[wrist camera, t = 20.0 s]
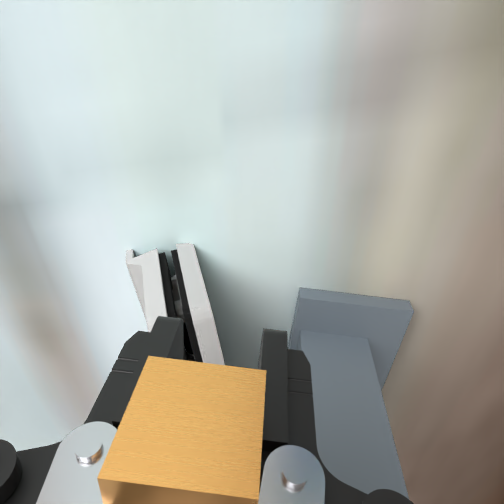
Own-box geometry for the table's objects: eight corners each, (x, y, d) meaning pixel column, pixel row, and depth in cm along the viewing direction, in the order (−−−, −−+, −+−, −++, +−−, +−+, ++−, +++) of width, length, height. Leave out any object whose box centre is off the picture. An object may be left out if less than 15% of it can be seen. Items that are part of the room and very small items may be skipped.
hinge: (124, 246, 27) (118, 338, 18) (189, 230, 27) (213, 312, 19) (177, 399, 35) (190, 511, 27) (226, 384, 36) (253, 488, 27)
